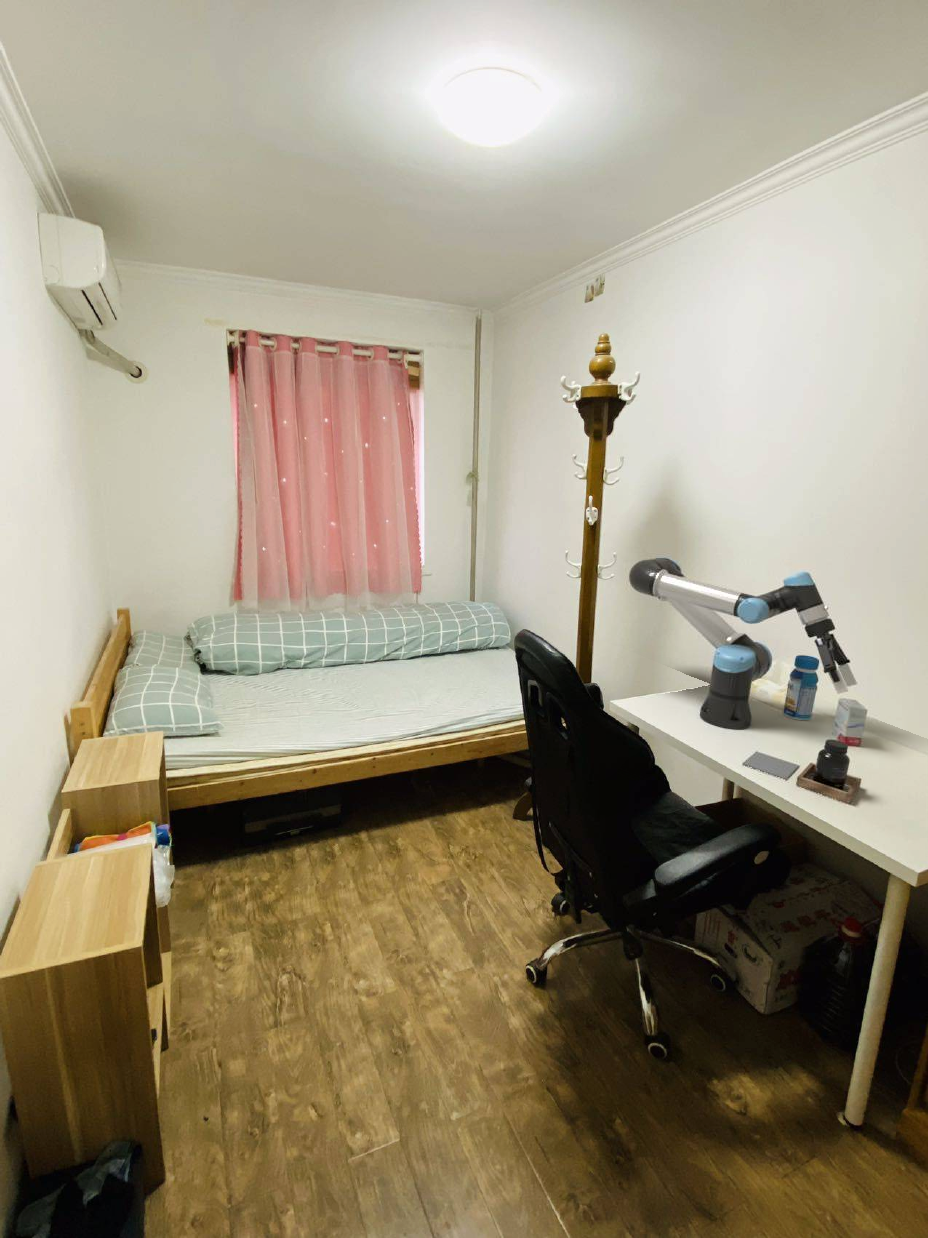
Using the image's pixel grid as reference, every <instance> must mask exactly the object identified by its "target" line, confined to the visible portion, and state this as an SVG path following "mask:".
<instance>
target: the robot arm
mask: <svg viewBox="0 0 928 1238" xmlns="http://www.w3.org/2000/svg"><path fill="white" fill-rule="evenodd" d="M628 580H629V583H630V586H631V588H633V589H634V591H636V592H638V593H640V594H644V595H646V596H647V595H648V596H651V597H654V598H657V599H658V600H660V601H661V602H668V603H669V604H670V605H671V606H672V607H673V608H674V609H675V610H676V611H677V612H678V613H679V614H680V615H681V616H682V617H683V618H684V619H685V620H686V621H688V623H689V624H690V625H692V627H693V628H694V629H695V630H696V631H697V632H698V633H700V634H701V636H702V637H703V638H704V639H705V640H706V641H708V642H709V644H711V645H712V647H714V648H715V649H716V650H715V651H714V655H713V658H712V668H711V674H710V675H711V676H710V681H709V689H708V693H707V696H706V698H705V699H704V702H703V703H702V705H701V707H700V710H699V718H701V720H703V721H704V722H707V723H708V724H711V725H713V726H716V727H720V728H725V729H731V730H733V729H735V730H736V729H737V730H740V729H741V730H742V729H747V728H750V727H751V725H752V718H753V716H752V712H751V707H750V702H749V698H750V694H751V688H752V682H754V681H756V680H758V679H761V678H762V677H764V676H765V675H766V674H767V673H768V672H769V671H770V669H771V667H772V664H773V657H772V652H771V651H770V649H769V648H768V647H767V646H766V645H765V644H763V643H761V642H758V641H754V640H752V638H751V637H750V636H748V635H747V633H745V632H744V633H743V632H737V631H736V629H734V628H733V627H732V626H731V625H730V624H729V623H728V622H727V621H726V620H725V619H723V617H721V615H720V614H719V613H723V614H726V615H728V616H733V617H736V618H739V619H740V620H741V621H742V622H744V623H746V624H749V625H752V624H754V625H755V624H760V623H762V622H764V621H766V620H769V619H771V618H773V617H775V616H778V615H781V614H784V613H786V612H788V611H793V610H794V609H795V610H796V612H797V615H798V618H799V620H800V622H801V624H802V625H803V626H804V631H805V633H806V635H807V637H808V638H814V637H816V639H814V641H813V642H814V643H815V646H816V647H817V648H816V649H817V651H818V654H819V658H820V662H821V664H822V668H823V672H824V673H825V674H828V676H829V678H830V680H831V682H832V685H833V686H834V687H833V688H834V690H835V691H836V693H837V695H840V694H842V693H847V692H849V689H848V687H851V686H855V685H858V682H857V680H856V678H855V676H854V674H853V672H852V669H851V667H850V665H849V663H851V660H850V659H849V658H848V656H846V654H845V652H844V650H843V649H842V647H841V646H840V643H838V640H837V639H836V637H835V634H834V633H830V632H832V631H835V630H836V627H835V624H834V621H833V620H832V618H829V617H830V614H829V612H828V609H829V607H828V606H826V605H825V603H824V601H823V598H822V596H821V594H820V592H819V590H818V587H817V584H816V583H815V581H814V580H813V578H812V576H811V574H810V573H809V572H807V571H802V572H797V573H795V574H793V575H790V576H788V577H786V578H784V579H783V581H782V582H783V586H781V587H779V588H777V589H774V590H772V591H769V592H766V593H762V594H760V595H757V596H756V595H752V594H749V593H744V592H741V591H737V590H732V589H728V588H726V587H722V586H719V585H718V586H717V585H714V584H709V583H706V582H702V581H698V580H695V579H691V578H687V577H686V576H685V574H683V573H682V568H681V566H680V564H679V563H678V562H677V561H675V560H674V559H672V558H669V557H663V556H662V557H661V556H659V557H655V558H652V559H642V560H640V561H638V562H636V563H635V564H634V565H633V566H632V567H631V569H630V571H629V574H628ZM718 612H719V613H718ZM837 665H838V666H837Z"/></svg>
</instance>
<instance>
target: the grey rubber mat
mask: <svg viewBox="0 0 928 1238" xmlns="http://www.w3.org/2000/svg"><path fill="white" fill-rule="evenodd" d="M742 764H743V765H742ZM741 765H742V766H744V765H745V766H744V767H746V766H749V767H752V768H754V769H753V770H755V769H758V770H760V771H759V772H761V771H762V772H761V773H764V772H766V773H765V774H767V773H768V774H767V775H769V774H772V775H774V776H773V777H775V776H777V777H776V778H778V777H780V778H779V779H781V778H783V779H782V780H784V779H785V780H784V781H787V780H788V779H789V778H790V777H791V776H792V775H793V773H795V771H796V770H797V769H798V768H799V767H800V765H799V764H796V763H794V762H791V761H787V760H784V759H782V758H778V757H775V756H772V755H769V754H765V753H762V752H759V751H755V752H753V754H751V755H750V756H749V757H748V758H747V759H746V760H744V761H743V762H742V763H741ZM749 767H748V768H749ZM752 768H751V769H752ZM758 770H757V771H758ZM772 775H771V776H772ZM787 778H788V779H787ZM786 779H787V780H786Z"/></svg>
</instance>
